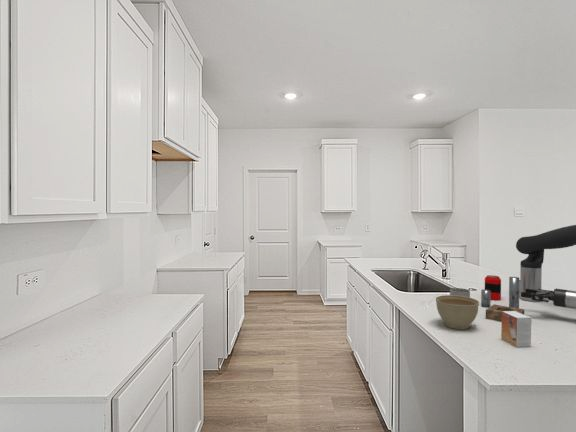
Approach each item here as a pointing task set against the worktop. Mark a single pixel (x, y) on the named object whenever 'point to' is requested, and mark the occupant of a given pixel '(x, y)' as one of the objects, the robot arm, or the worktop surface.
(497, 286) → the soda can
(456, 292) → the cup
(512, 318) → the small box
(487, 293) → the short steel pin
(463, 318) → the planter bowl
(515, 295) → the long steel pin
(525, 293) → the robot arm
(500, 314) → the walnut bored block
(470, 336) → the worktop surface
